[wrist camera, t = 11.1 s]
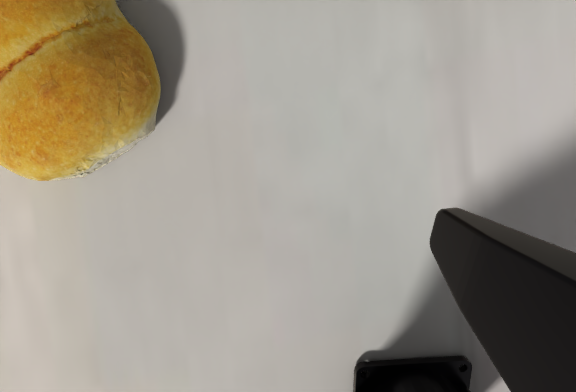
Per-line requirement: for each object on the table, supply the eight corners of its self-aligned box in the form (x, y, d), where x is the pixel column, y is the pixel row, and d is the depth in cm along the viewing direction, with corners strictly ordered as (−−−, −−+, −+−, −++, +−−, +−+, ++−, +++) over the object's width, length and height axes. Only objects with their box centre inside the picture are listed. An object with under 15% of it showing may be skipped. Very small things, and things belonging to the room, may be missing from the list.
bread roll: (61, -89, 16) (1, -141, 12) (194, 107, 19) (179, 114, 15) (-100, 28, 17) (-204, 14, 13) (49, 202, 19) (-1, 233, 16)
